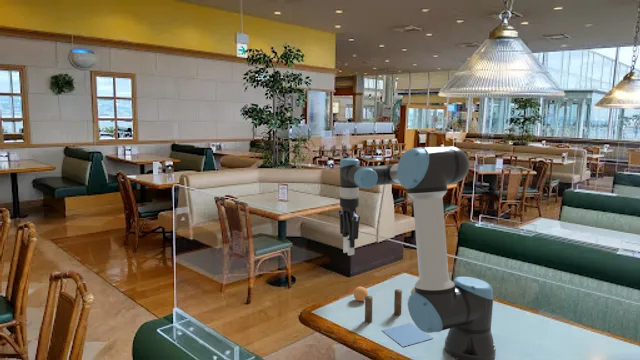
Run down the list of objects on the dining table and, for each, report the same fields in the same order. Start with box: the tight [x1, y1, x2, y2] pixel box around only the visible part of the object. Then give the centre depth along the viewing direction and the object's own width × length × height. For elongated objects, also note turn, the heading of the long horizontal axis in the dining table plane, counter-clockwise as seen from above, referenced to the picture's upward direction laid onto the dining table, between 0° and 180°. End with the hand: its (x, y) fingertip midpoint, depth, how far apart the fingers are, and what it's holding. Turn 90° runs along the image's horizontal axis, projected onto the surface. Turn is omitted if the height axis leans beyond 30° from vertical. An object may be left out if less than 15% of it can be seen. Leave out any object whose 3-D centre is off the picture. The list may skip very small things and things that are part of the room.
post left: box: [364, 295, 374, 324], centre depth 161 cm, size 3×3×9 cm
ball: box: [352, 286, 369, 302], centre depth 179 cm, size 6×6×6 cm
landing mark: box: [381, 322, 433, 348], centre depth 152 cm, size 12×12×1 cm
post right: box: [393, 289, 403, 316], centre depth 167 cm, size 3×3×9 cm
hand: (348, 253), depth 185 cm, fingers open, 3 cm apart
